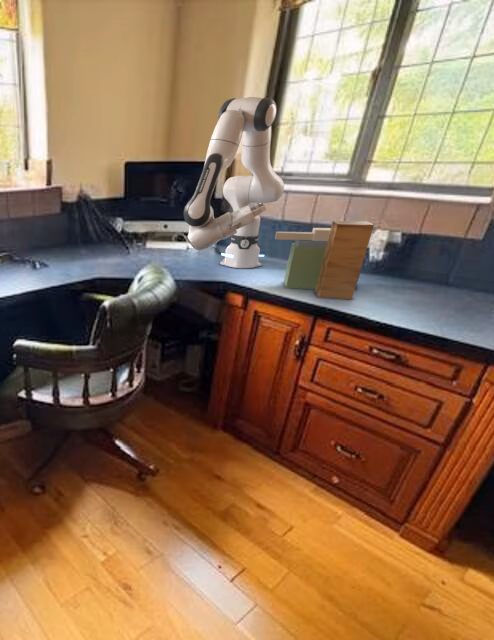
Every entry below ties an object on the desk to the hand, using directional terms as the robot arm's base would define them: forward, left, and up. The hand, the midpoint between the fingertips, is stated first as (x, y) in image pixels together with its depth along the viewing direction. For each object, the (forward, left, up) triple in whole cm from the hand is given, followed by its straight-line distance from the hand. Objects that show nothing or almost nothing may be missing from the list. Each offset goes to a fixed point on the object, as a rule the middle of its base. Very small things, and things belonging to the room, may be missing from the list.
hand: (264, 205), depth 161 cm
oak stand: (+11, +29, -30) cm, 43 cm away
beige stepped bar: (0, +17, -12) cm, 21 cm away
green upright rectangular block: (0, +19, -30) cm, 36 cm away
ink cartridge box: (-4, +37, -30) cm, 48 cm away
